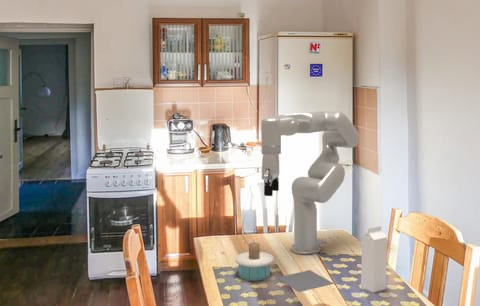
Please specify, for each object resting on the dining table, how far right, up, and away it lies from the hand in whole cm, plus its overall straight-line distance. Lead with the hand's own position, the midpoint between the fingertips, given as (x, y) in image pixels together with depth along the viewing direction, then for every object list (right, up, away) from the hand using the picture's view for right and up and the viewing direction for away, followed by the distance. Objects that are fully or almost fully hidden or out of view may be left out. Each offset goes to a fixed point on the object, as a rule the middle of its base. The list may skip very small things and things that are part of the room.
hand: (271, 193), depth 202 cm
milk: (+34, -32, -24) cm, 52 cm away
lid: (-7, -24, -11) cm, 27 cm away
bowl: (-7, -30, -10) cm, 32 cm away
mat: (+11, -31, -16) cm, 37 cm away
